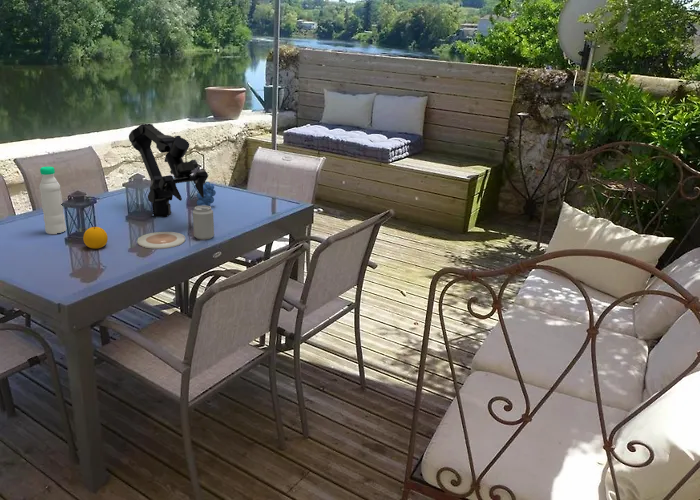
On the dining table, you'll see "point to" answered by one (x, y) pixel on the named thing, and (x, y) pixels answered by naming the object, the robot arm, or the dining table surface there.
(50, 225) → the milk bottle
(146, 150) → the robot arm
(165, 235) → the saucer
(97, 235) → the orange
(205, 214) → the can
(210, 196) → the grapes
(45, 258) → the dining table surface
